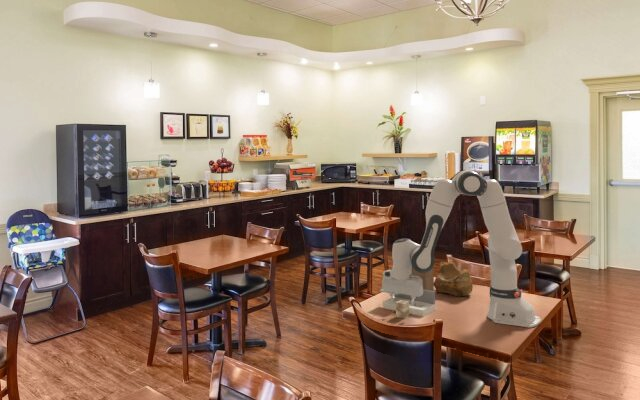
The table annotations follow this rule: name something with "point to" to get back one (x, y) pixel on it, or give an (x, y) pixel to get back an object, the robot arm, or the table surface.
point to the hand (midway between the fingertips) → (402, 302)
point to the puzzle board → (415, 303)
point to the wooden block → (426, 279)
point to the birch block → (402, 309)
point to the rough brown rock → (453, 280)
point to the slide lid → (388, 292)
